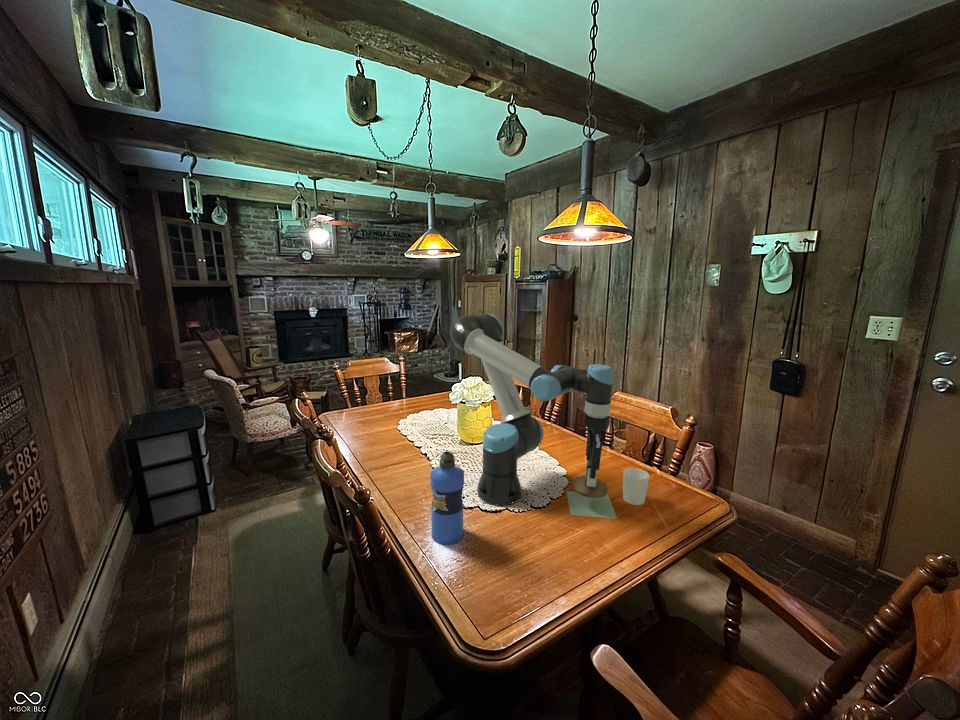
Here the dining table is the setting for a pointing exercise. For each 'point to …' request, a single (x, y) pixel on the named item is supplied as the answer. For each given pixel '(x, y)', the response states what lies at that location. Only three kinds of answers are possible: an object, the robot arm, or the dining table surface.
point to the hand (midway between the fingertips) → (590, 482)
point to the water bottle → (447, 501)
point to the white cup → (635, 485)
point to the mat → (590, 506)
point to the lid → (592, 492)
